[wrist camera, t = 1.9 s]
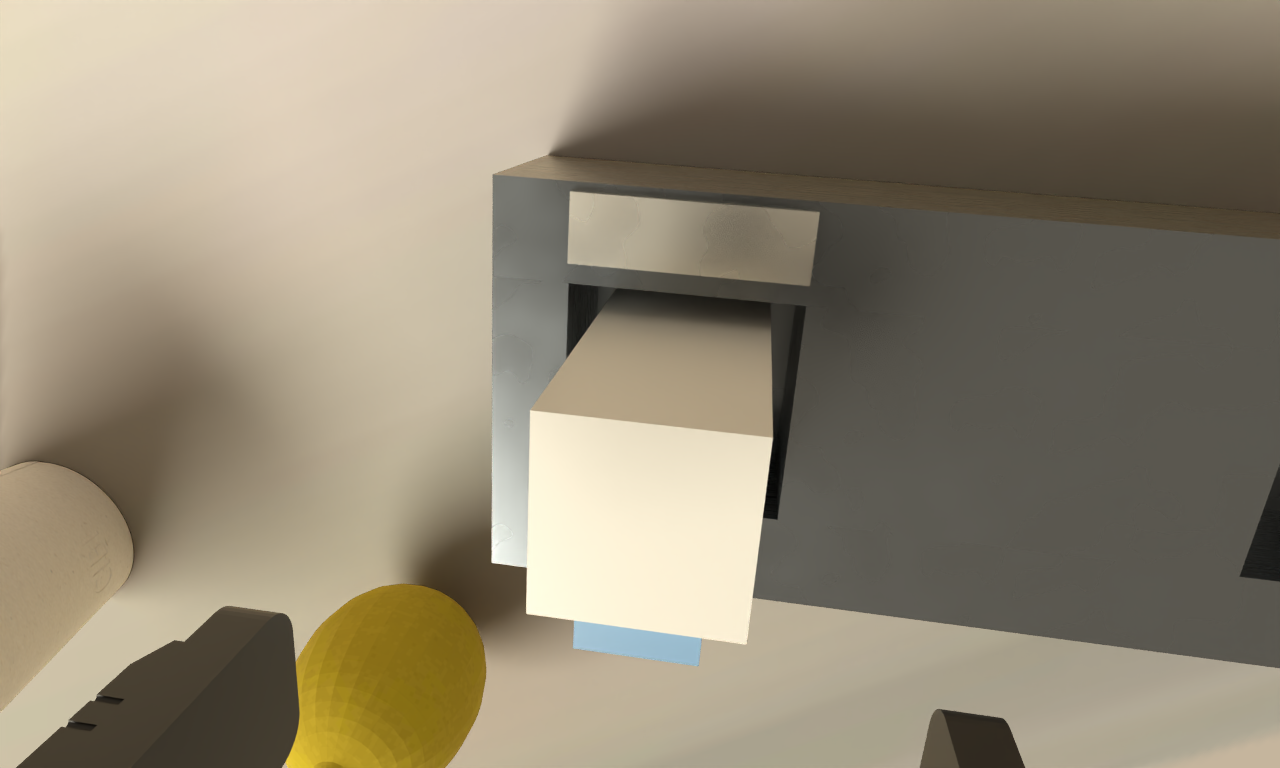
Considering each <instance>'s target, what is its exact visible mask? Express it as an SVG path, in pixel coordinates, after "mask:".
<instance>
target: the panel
mask: <svg viewBox="0 0 1280 768" xmlns="http://www.w3.org/2000/svg"><path fill="white" fill-rule="evenodd" d="M617 288H623V289H634V290H644V291H655V292H665V293H676V294H686V295H697V296H707V297H717V298H728V299H738V300H749V301H759V302H770V303H771V355H772V413H773V441H772V449H771V457H770V465H769V472H768V480H767V488H766V496H765V504H764V511H763V519H762V527H761V535H760V543H759V550H758V558H757V566H756V574H755V582H754V589H753V597H752V598H758V599H766V600H773V601H781V602H788V603H796V604H803V605H811V606H818V607H826V608H833V609H841V610H848V611H856V612H863V613H871V614H878V615H886V616H893V617H900V618H908V619H915V620H923V621H930V622H938V623H945V624H953V625H960V626H968V627H975V628H983V629H990V630H998V631H1005V632H1013V633H1020V634H1028V635H1035V636H1043V637H1050V638H1058V639H1065V640H1073V641H1080V642H1088V643H1095V644H1103V645H1110V646H1118V647H1125V648H1133V649H1140V650H1148V651H1155V652H1163V653H1170V654H1177V655H1185V656H1192V657H1200V658H1207V659H1215V660H1222V661H1230V662H1237V663H1245V664H1252V665H1260V666H1267V667H1275V668H1280V213H1268V212H1256V211H1243V210H1231V209H1218V208H1205V207H1193V206H1180V205H1168V204H1155V203H1142V202H1130V201H1117V200H1105V199H1092V198H1080V197H1067V196H1054V195H1042V194H1029V193H1017V192H1004V191H991V190H979V189H966V188H954V187H941V186H928V185H916V184H903V183H891V182H878V181H865V180H853V179H840V178H828V177H815V176H803V175H790V174H777V173H765V172H752V171H740V170H727V169H714V168H702V167H689V166H677V165H664V164H651V163H639V162H626V161H614V160H601V159H589V158H576V157H563V156H551V155H546V156H543V157H540V158H538V159H535V160H532V161H529V162H526V163H524V164H521V165H518V166H515V167H512V168H510V169H507V170H504V171H501V172H498V173H496V174H493V280H492V563H496V564H504V565H511V566H519V567H526V568H527V543H528V492H529V442H530V410H531V408H532V407H533V406H534V404H535V403H536V401H537V400H538V399H539V397H540V396H541V394H542V393H543V391H544V390H545V389H546V387H547V386H548V384H549V383H550V382H551V380H552V379H553V377H554V376H555V375H556V373H557V372H558V370H559V369H560V367H561V366H562V365H563V363H564V362H565V360H566V359H567V358H568V356H569V355H570V353H571V352H572V351H573V349H574V348H575V346H576V345H577V344H578V342H579V341H580V339H581V338H582V336H583V335H584V334H585V332H586V331H587V329H588V328H589V327H590V325H591V324H592V322H593V321H594V320H595V318H596V317H597V315H598V314H599V312H600V311H601V310H602V308H603V307H604V305H605V304H606V303H607V301H608V300H609V298H610V297H611V296H612V294H613V293H614V291H615V290H616V289H617Z"/></svg>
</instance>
